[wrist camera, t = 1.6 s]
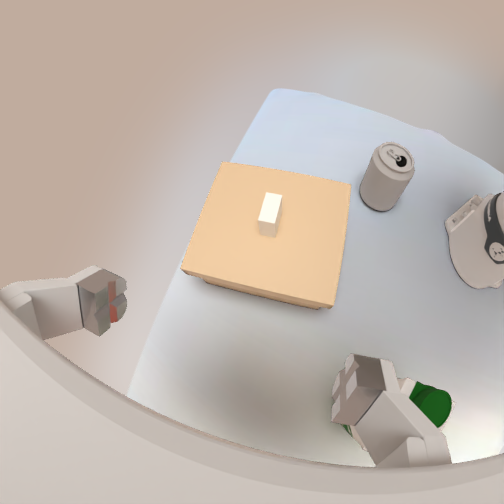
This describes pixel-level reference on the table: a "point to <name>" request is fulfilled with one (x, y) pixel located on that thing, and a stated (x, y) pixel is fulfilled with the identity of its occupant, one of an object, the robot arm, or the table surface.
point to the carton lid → (272, 233)
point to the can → (387, 176)
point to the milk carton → (420, 404)
